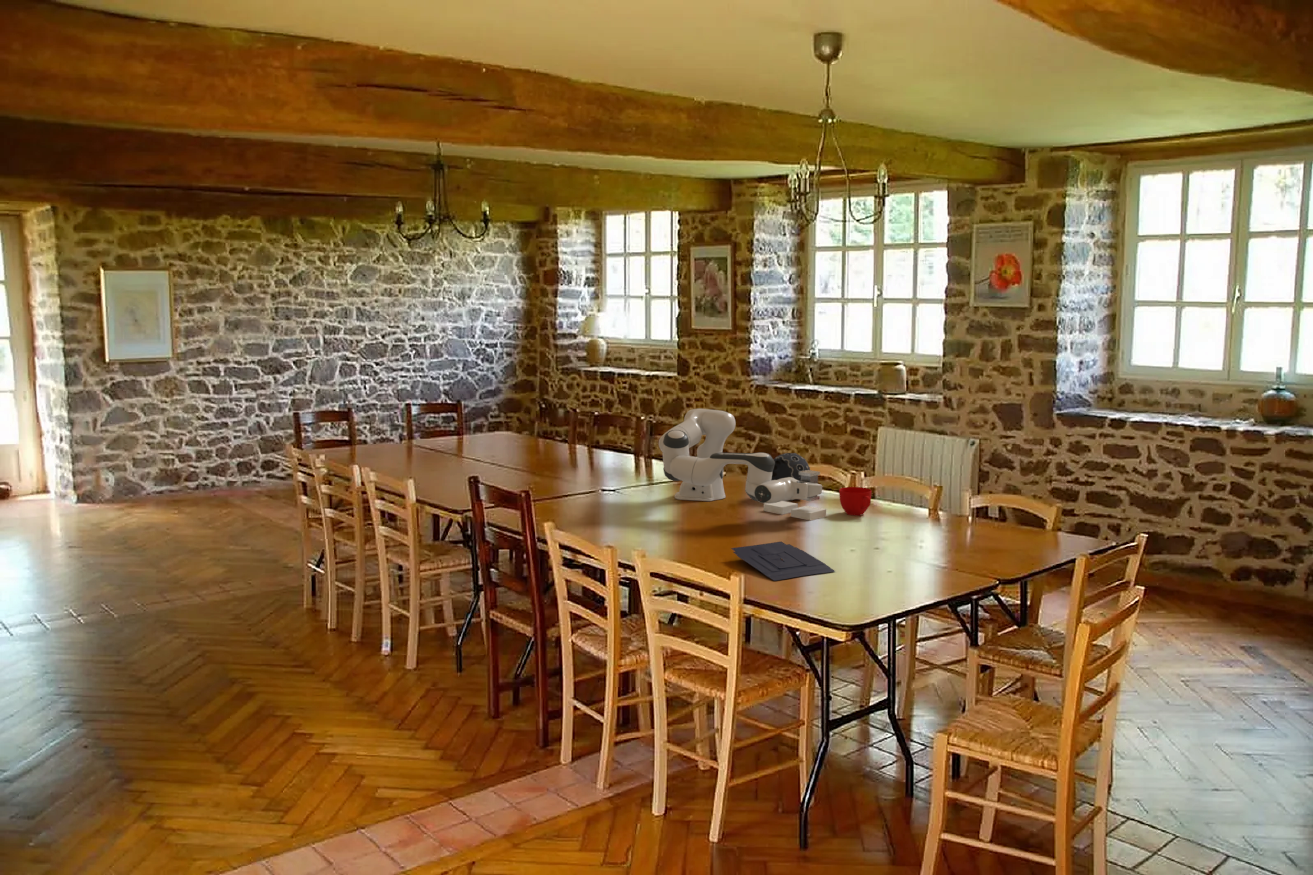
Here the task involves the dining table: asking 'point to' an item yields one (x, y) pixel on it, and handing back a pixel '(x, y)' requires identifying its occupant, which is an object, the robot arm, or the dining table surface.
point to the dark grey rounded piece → (789, 466)
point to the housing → (810, 481)
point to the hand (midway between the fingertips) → (810, 484)
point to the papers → (781, 560)
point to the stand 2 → (808, 513)
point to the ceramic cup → (855, 500)
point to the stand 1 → (780, 507)
